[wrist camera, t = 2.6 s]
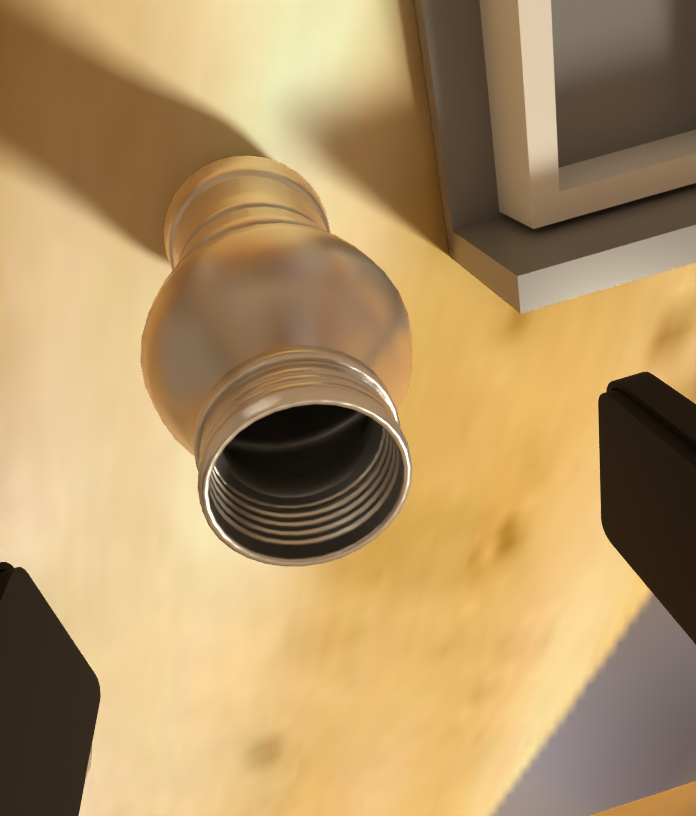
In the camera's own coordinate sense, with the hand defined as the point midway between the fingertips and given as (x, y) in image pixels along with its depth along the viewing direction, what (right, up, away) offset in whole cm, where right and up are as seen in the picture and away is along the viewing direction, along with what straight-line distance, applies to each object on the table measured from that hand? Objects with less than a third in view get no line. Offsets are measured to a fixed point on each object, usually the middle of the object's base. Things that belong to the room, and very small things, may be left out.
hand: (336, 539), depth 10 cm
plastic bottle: (-4, +10, +18) cm, 21 cm away
